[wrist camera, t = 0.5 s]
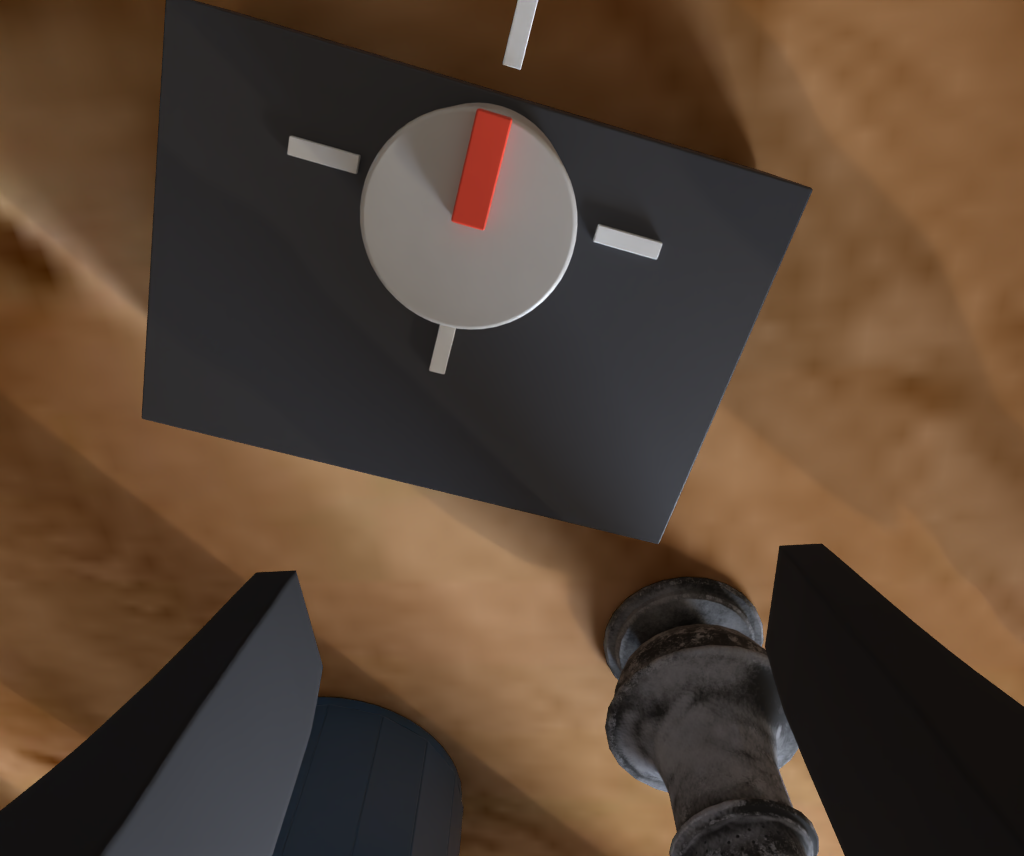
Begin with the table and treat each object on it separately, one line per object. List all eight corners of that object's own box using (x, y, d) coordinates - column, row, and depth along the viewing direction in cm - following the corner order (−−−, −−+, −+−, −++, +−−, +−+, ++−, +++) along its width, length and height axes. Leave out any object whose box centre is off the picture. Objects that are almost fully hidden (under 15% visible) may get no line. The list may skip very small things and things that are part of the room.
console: (638, 478, 21) (660, 548, 18) (200, 367, 20) (137, 422, 17) (795, 89, 17) (861, 89, 14) (243, -86, 16) (167, -133, 12)
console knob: (539, 305, 16) (543, 359, 12) (376, 260, 15) (337, 305, 12) (590, 132, 14) (609, 144, 11) (411, 78, 14) (377, 75, 11)
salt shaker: (576, 692, 25) (617, 1150, 14) (619, 555, 23) (709, 983, 12) (737, 717, 25) (897, 1182, 15) (797, 585, 23) (1042, 1028, 12)
